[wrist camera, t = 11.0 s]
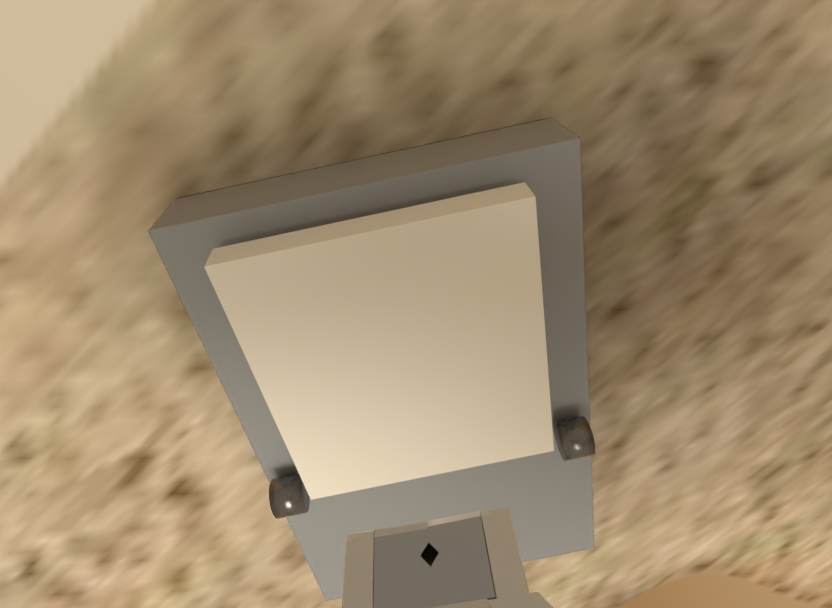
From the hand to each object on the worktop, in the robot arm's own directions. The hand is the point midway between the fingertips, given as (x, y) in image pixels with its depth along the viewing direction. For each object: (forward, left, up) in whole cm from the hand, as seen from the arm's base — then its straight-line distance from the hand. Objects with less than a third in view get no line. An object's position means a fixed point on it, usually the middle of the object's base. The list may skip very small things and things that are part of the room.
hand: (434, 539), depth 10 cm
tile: (+1, +3, -9) cm, 9 cm away
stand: (+1, +7, -13) cm, 15 cm away
